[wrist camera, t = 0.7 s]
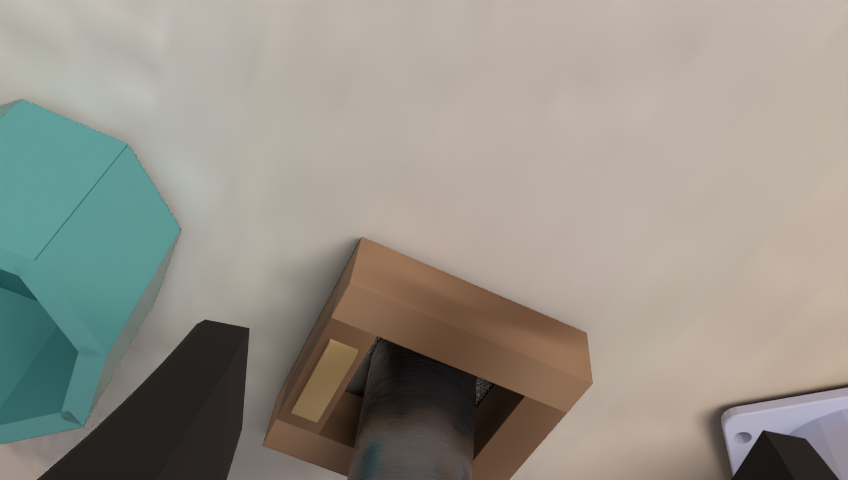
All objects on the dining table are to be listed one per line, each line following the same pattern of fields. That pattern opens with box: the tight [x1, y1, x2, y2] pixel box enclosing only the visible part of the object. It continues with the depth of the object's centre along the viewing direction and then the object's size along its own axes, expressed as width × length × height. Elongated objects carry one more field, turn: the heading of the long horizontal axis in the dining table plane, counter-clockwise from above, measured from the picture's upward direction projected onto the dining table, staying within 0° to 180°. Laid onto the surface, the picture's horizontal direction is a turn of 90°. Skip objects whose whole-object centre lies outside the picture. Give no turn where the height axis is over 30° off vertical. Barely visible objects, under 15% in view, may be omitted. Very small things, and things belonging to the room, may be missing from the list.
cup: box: [0, 99, 181, 444], centre depth 20 cm, size 7×7×5 cm
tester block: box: [263, 237, 593, 480], centre depth 23 cm, size 7×7×2 cm
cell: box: [347, 338, 477, 480], centre depth 21 cm, size 3×3×8 cm
